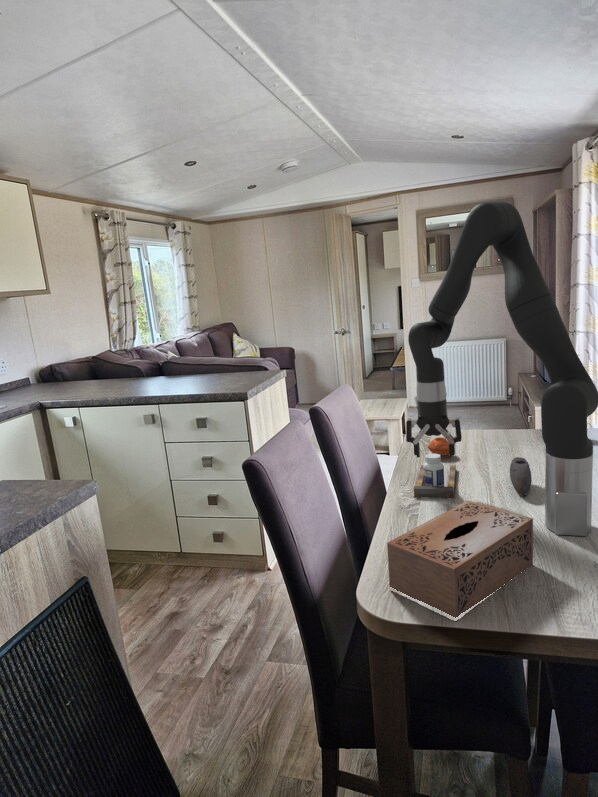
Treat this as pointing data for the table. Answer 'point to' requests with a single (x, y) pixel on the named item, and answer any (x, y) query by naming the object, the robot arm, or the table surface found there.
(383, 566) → the table surface
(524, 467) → the perforated stone tool
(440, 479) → the pill bottle
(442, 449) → the pot
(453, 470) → the guide channel
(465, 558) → the tissue box cover
